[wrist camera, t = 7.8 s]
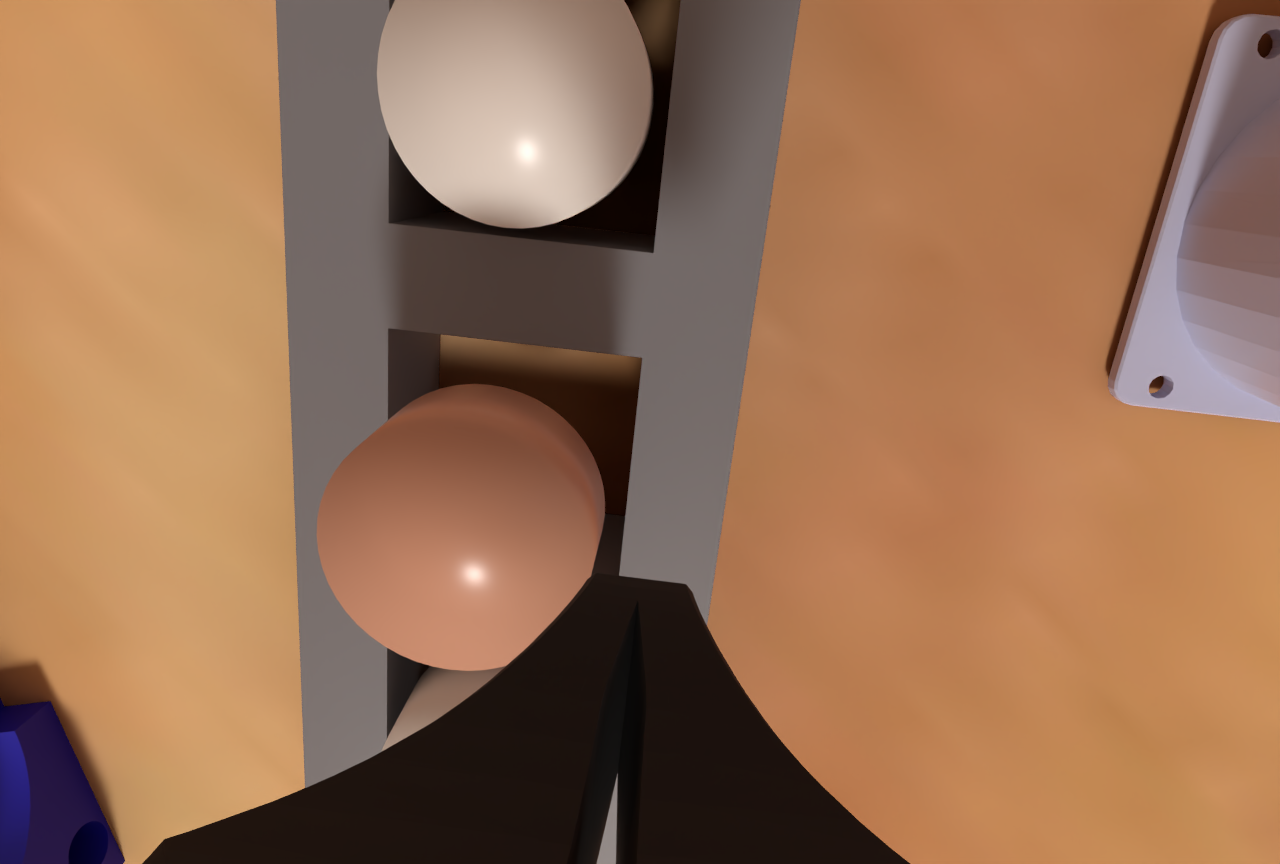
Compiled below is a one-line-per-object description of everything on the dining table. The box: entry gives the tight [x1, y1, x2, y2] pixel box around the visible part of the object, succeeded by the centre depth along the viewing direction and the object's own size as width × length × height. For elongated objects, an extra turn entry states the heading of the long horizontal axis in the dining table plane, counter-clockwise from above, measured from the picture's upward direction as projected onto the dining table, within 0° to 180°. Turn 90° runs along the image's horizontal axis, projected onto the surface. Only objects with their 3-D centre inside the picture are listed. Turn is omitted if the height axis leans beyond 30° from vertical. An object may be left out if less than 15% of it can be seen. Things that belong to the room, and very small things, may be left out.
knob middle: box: [317, 384, 605, 671], centre depth 15 cm, size 4×4×5 cm
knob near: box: [377, 0, 654, 229], centre depth 15 cm, size 4×4×5 cm
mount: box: [276, 0, 801, 864], centre depth 18 cm, size 9×23×4 cm, turn 174°
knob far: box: [381, 666, 506, 752], centre depth 20 cm, size 4×4×5 cm
